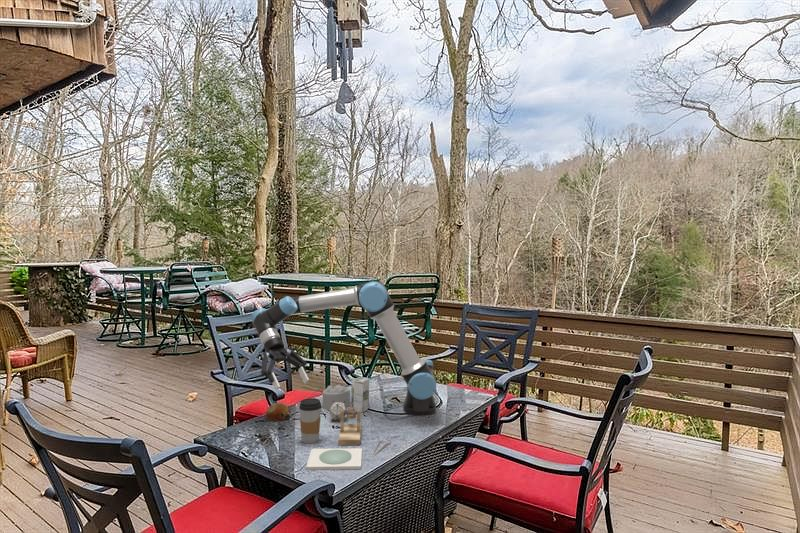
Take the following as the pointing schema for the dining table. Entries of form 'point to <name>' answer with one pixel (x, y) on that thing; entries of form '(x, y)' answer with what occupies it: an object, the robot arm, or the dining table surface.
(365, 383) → the syrup box
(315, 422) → the coffee cup
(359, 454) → the board
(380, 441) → the tweezers
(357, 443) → the toy catapult
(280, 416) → the brown rounded lump
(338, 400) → the lumpy-topped squat cylinder
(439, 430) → the dining table surface
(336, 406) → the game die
